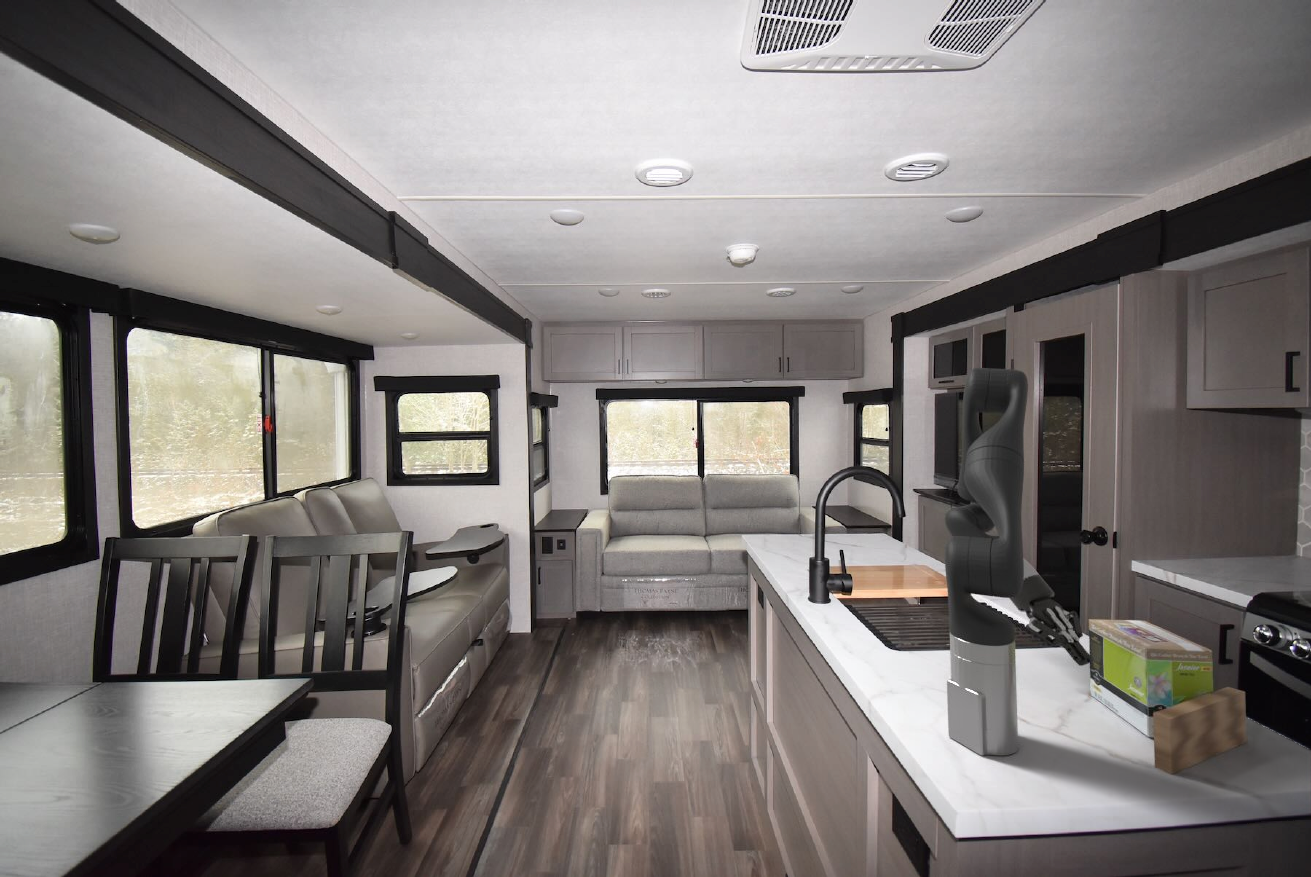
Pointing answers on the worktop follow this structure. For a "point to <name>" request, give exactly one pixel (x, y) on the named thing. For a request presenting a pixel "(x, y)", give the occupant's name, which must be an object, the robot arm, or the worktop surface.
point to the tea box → (1145, 669)
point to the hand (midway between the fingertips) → (1086, 663)
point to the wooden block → (1199, 729)
